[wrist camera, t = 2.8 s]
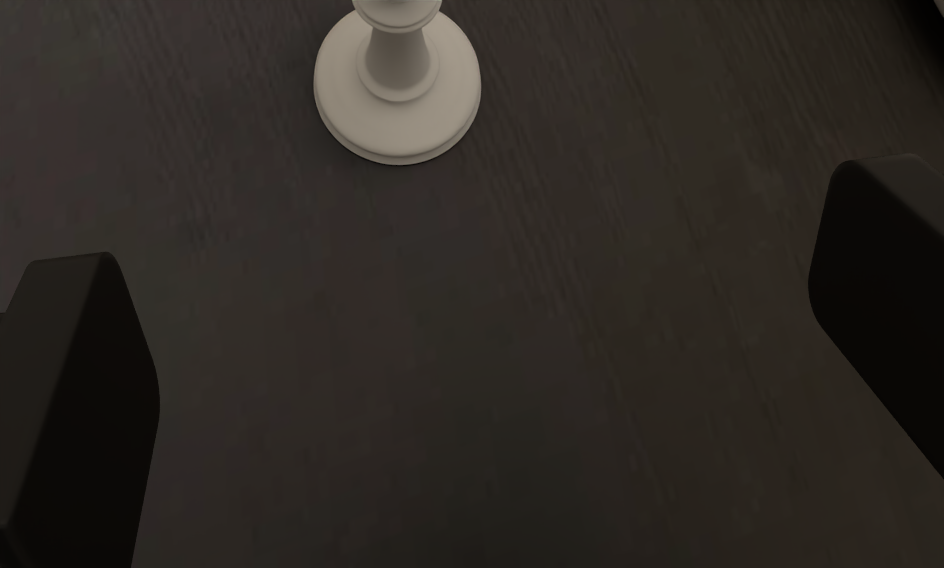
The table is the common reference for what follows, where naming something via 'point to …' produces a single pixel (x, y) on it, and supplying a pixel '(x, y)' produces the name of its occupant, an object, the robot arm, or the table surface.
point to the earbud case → (940, 6)
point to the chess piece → (397, 81)
